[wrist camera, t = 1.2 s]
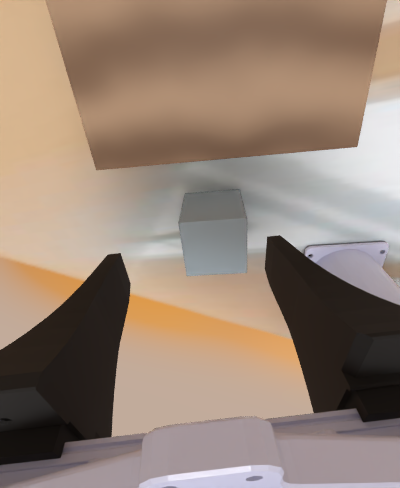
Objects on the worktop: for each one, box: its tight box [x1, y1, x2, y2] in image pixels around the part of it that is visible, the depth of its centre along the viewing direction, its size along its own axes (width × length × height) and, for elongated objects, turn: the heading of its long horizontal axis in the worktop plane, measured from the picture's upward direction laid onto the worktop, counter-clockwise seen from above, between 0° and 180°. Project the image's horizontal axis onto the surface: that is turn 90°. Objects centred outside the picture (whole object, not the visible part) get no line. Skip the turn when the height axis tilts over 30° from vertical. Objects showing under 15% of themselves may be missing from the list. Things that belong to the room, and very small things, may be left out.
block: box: [179, 189, 247, 276], centre depth 23 cm, size 5×5×6 cm
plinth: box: [46, 0, 387, 170], centre depth 18 cm, size 14×20×2 cm
